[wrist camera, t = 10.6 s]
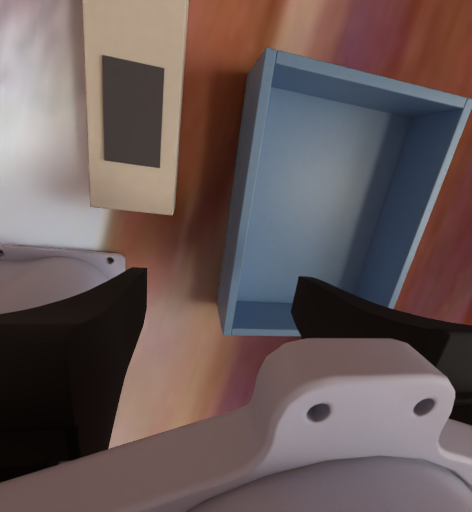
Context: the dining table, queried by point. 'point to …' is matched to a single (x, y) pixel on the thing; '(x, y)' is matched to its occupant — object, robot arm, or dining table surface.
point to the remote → (134, 101)
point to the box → (329, 186)
